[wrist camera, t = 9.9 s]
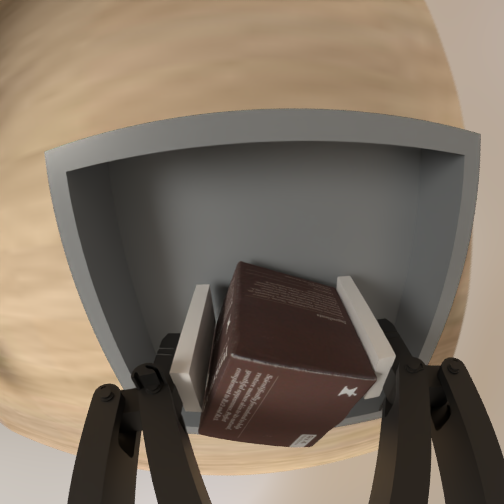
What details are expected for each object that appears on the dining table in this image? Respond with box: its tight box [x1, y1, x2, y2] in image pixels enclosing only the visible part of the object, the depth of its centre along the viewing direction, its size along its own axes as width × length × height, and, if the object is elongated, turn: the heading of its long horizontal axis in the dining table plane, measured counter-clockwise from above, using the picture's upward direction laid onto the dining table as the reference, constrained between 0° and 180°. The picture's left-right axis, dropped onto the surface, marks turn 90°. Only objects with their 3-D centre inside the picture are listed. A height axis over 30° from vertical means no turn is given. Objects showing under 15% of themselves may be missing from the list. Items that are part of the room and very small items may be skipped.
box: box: [198, 261, 377, 447], centre depth 13 cm, size 6×6×7 cm
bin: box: [44, 109, 481, 434], centre depth 15 cm, size 20×20×5 cm
